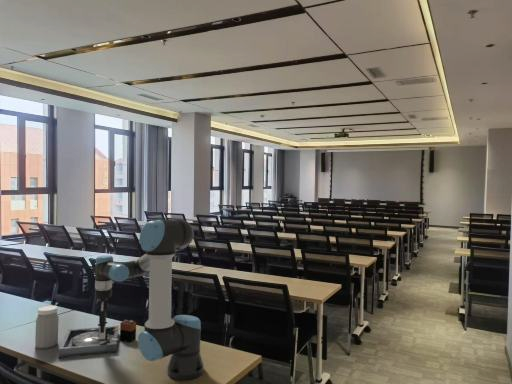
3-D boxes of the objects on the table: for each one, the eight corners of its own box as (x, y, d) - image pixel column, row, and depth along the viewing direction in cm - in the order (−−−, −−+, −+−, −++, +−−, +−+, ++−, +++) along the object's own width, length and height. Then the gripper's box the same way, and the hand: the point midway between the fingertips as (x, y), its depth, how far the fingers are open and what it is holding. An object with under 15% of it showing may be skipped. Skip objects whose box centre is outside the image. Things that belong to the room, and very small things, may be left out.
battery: (130, 342, 187) (130, 322, 187) (119, 340, 190) (120, 320, 190) (136, 339, 191) (136, 320, 191) (125, 337, 194) (126, 318, 194)
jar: (47, 340, 187) (48, 303, 187) (62, 343, 184) (63, 306, 184) (29, 347, 178) (31, 309, 178) (46, 351, 175) (47, 312, 175)
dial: (63, 346, 177) (63, 331, 177) (86, 333, 194) (87, 319, 194) (95, 351, 173) (95, 335, 173) (116, 337, 190) (117, 322, 190)
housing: (117, 352, 176) (118, 343, 176) (58, 358, 168) (58, 348, 168) (119, 333, 199) (120, 325, 199) (67, 337, 191) (68, 329, 191)
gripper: (111, 291, 173) (109, 343, 173) (112, 284, 185) (111, 332, 185) (93, 292, 170) (91, 344, 170) (96, 285, 183) (94, 334, 183)
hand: (102, 338), depth 178 cm, fingers closed
